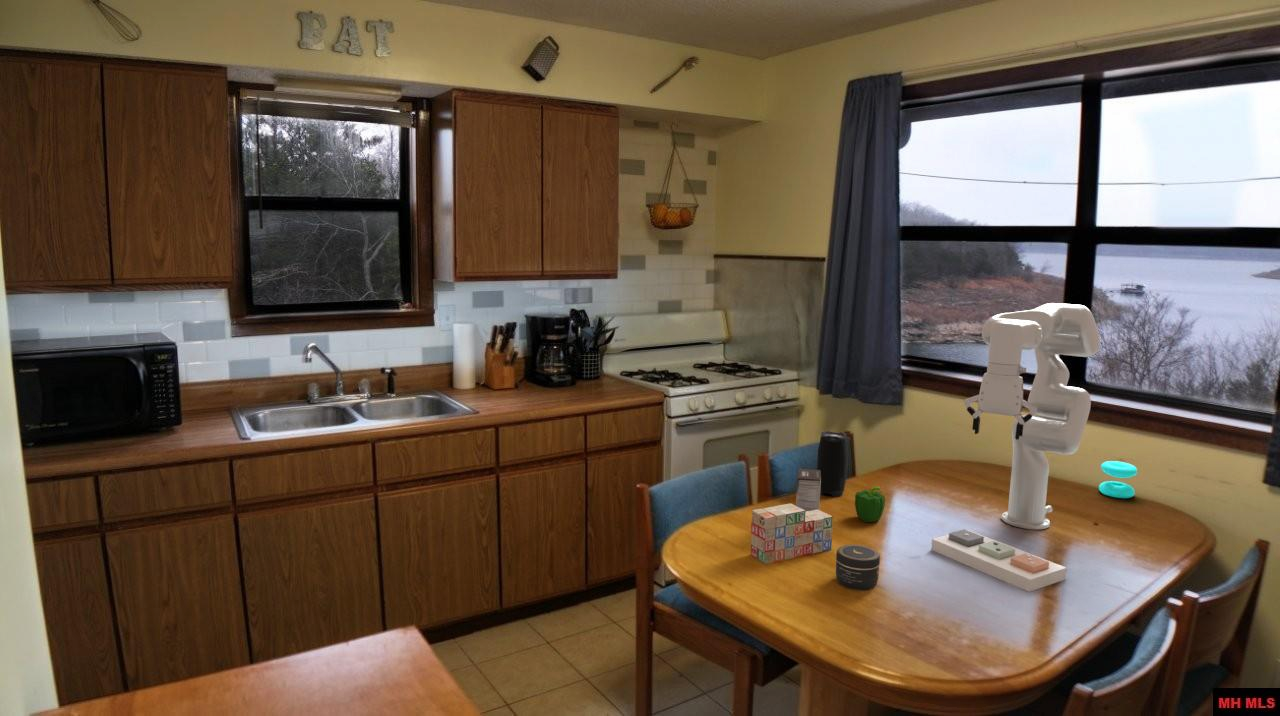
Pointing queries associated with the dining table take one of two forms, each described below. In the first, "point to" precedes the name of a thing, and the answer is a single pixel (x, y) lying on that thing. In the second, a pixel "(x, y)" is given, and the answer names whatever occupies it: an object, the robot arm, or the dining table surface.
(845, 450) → the portable speaker
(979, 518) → the dining table surface
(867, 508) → the bell pepper
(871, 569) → the jar
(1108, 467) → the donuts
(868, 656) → the dining table surface
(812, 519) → the stack of blocks
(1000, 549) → the tile two
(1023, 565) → the tile three
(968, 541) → the tile one
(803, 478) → the coffee box
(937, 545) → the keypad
